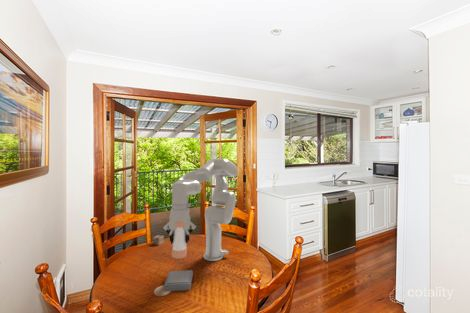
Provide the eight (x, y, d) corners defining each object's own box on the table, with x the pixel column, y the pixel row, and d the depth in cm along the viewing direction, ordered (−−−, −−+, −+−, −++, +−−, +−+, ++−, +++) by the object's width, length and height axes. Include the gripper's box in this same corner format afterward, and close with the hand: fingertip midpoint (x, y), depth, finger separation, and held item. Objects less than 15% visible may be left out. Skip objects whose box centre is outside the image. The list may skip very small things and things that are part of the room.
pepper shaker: (180, 249, 114) (181, 214, 113) (189, 254, 110) (191, 217, 109) (168, 255, 108) (170, 217, 107) (178, 260, 104) (179, 221, 103)
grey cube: (153, 244, 155) (153, 237, 155) (158, 241, 159) (158, 235, 159) (159, 245, 153) (159, 238, 153) (163, 242, 158) (163, 235, 158)
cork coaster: (173, 286, 107) (173, 285, 107) (169, 297, 99) (169, 295, 99) (156, 287, 106) (156, 285, 106) (151, 297, 98) (151, 296, 98)
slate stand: (192, 275, 115) (192, 269, 115) (190, 289, 103) (190, 283, 103) (169, 276, 114) (169, 270, 114) (164, 291, 102) (164, 284, 102)
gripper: (198, 204, 113) (197, 239, 113) (163, 205, 111) (163, 239, 111) (197, 208, 105) (196, 245, 105) (160, 208, 103) (159, 246, 103)
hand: (179, 242), depth 108 cm, fingers closed on pepper shaker, 6 cm apart
